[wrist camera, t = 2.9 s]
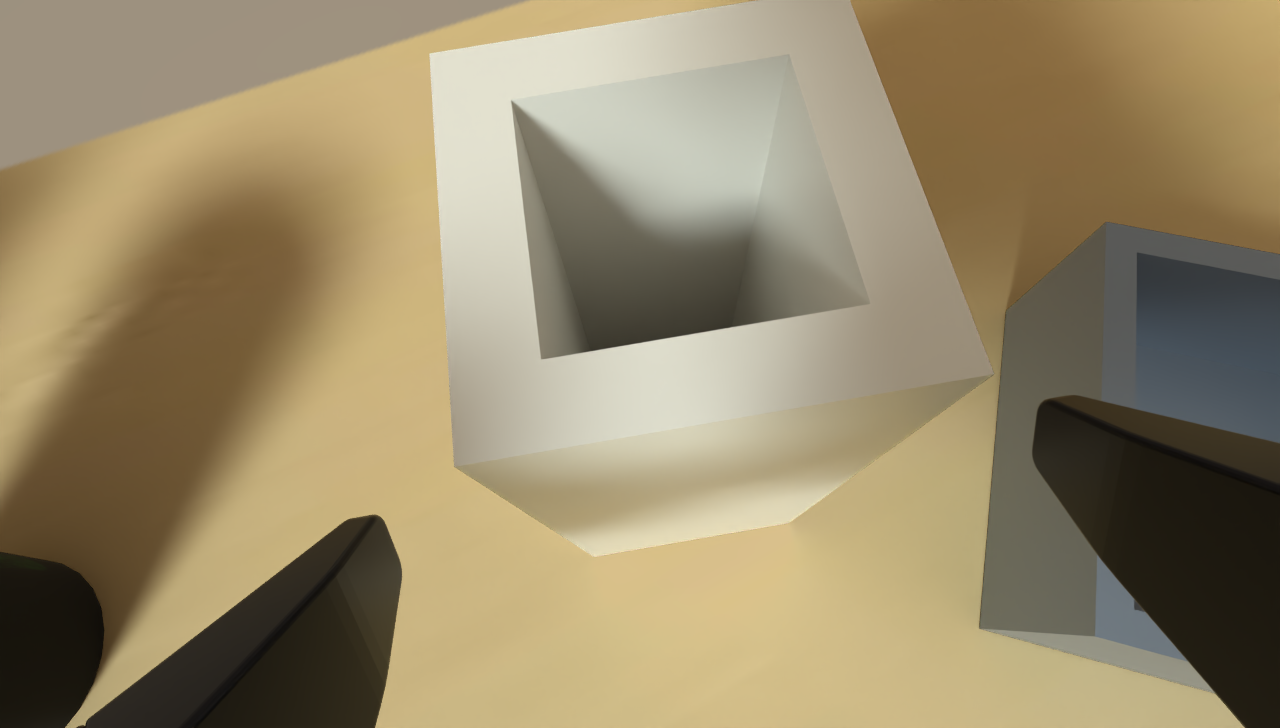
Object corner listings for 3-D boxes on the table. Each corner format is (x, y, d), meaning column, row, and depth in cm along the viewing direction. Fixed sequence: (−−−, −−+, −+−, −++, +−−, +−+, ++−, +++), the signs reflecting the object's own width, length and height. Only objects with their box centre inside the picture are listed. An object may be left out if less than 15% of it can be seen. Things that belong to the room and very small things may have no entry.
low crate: (1384, 739, 16) (1683, 795, 11) (979, 628, 17) (1094, 636, 12) (1345, 381, 19) (1565, 307, 14) (1006, 310, 20) (1106, 221, 16)
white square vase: (788, 523, 18) (994, 373, 7) (594, 556, 18) (454, 466, 7) (745, 344, 20) (844, -14, 9) (569, 373, 20) (429, 53, 9)
